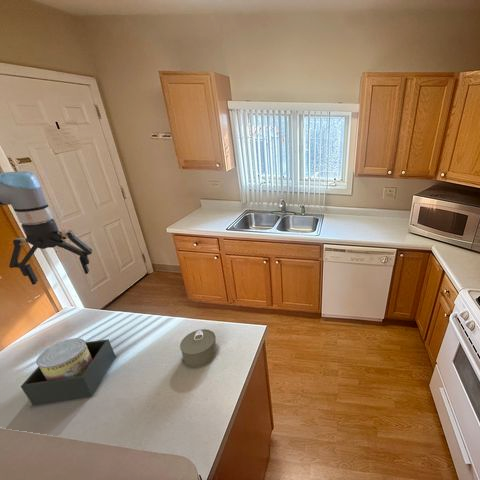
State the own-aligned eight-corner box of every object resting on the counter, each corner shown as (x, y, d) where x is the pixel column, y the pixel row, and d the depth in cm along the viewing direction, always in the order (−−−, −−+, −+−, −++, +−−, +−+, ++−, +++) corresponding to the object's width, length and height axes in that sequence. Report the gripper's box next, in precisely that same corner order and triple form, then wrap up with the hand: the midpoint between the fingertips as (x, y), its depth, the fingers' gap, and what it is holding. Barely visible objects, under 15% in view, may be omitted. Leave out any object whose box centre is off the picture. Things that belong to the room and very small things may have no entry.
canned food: (66, 398, 79) (50, 371, 74) (43, 386, 82) (27, 360, 77) (104, 369, 88) (93, 343, 84) (83, 359, 92) (71, 334, 87)
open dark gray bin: (33, 405, 77) (20, 386, 74) (66, 363, 91) (57, 345, 87) (92, 396, 81) (82, 377, 77) (115, 356, 94) (108, 339, 91)
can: (181, 371, 90) (177, 357, 87) (185, 346, 100) (182, 332, 97) (217, 363, 94) (214, 349, 91) (218, 339, 104) (215, 326, 101)
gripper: (89, 212, 91) (107, 264, 100) (-17, 223, 78) (14, 281, 86) (86, 218, 85) (105, 272, 94) (-28, 232, 72) (6, 293, 81)
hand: (62, 277), depth 90 cm, fingers open, 13 cm apart
